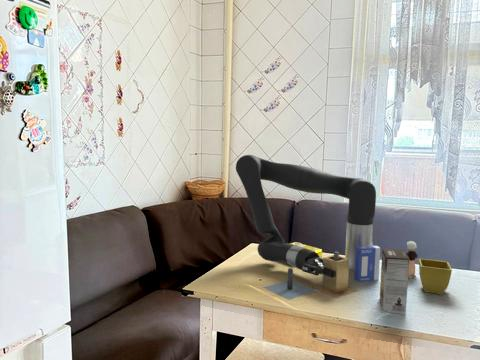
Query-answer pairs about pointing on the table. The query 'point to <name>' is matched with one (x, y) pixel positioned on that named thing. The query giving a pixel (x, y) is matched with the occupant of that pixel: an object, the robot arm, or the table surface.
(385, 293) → the coffee box
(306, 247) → the element tile
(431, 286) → the flower pot
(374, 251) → the walkman
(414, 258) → the grandmother figurine
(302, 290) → the blue peg stand
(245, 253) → the table surface
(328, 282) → the bronze sleeve
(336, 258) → the walnut stand
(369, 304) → the table surface
